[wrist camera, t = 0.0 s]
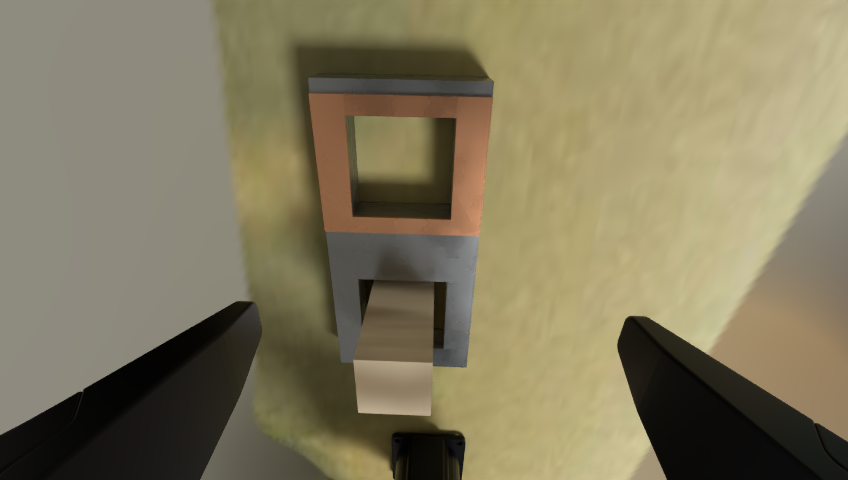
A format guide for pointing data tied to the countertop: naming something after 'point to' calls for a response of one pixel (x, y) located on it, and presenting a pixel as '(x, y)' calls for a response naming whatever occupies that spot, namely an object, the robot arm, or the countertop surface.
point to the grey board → (401, 222)
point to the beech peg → (396, 349)
